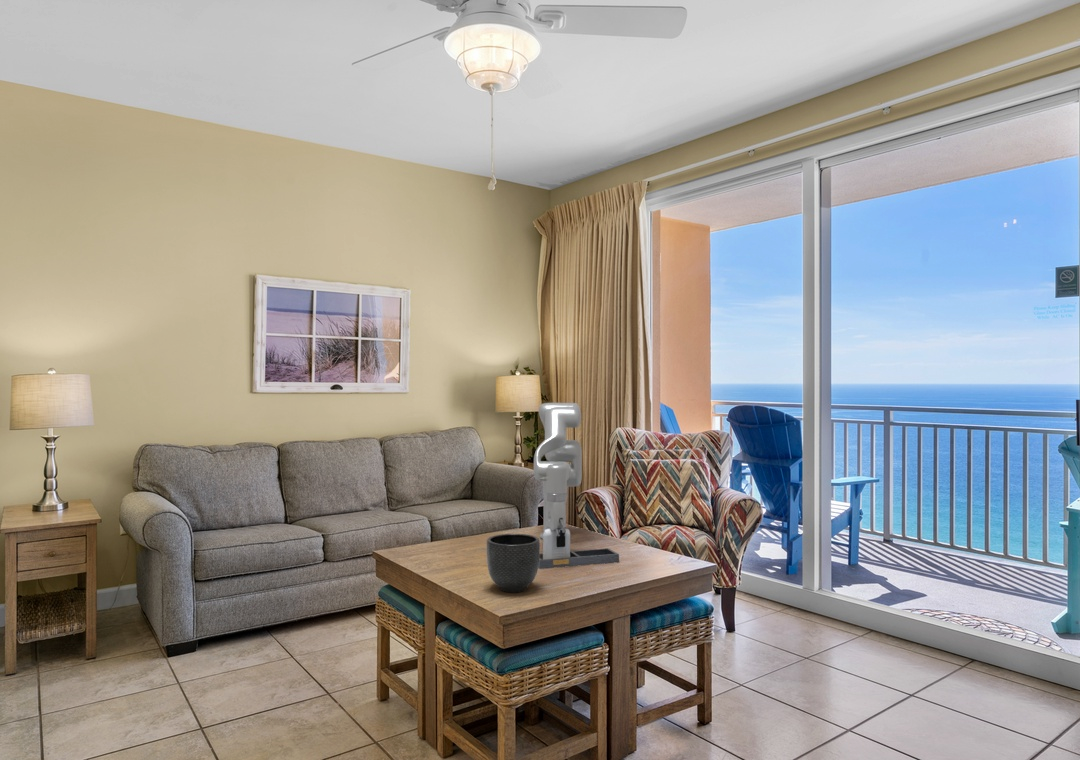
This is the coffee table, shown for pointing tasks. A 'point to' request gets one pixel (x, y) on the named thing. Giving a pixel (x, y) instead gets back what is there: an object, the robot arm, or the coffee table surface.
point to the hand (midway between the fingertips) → (556, 543)
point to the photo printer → (555, 545)
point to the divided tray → (580, 558)
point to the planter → (513, 560)
